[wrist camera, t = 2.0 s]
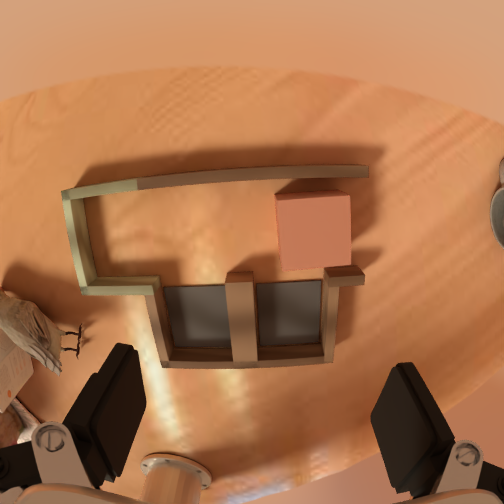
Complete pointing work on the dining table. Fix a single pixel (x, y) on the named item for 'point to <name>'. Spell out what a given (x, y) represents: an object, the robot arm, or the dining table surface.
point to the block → (313, 229)
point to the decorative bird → (33, 331)
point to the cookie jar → (16, 424)
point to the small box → (12, 369)
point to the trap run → (223, 288)
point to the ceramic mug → (498, 209)
